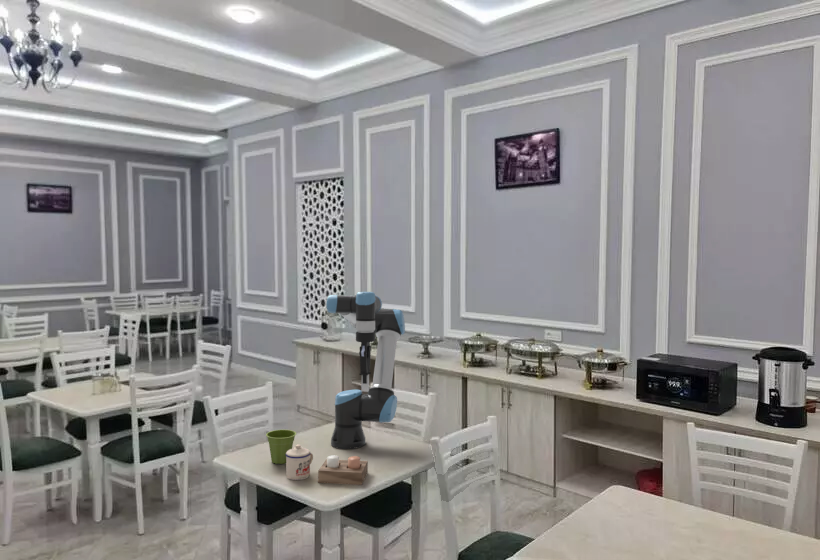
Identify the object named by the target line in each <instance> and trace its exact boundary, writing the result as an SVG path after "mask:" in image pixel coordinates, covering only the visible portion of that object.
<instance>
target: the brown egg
mask: <svg viewBox="0 0 820 560" xmlns="http://www.w3.org/2000/svg"><path fill="white" fill-rule="evenodd" d="M347 460H348V468H350V469H360V461H361V457H360V456H357V455H356V456H355V455H352V456H349V457H348V458H347Z"/></svg>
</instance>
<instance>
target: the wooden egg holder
mask: <svg viewBox="0 0 820 560" xmlns="http://www.w3.org/2000/svg"><path fill="white" fill-rule="evenodd" d="M368 467H369V463H368V460H360V469H350V468H348V459H339V467H338V468H328V467H327V458H326V459H325V461H324V462H323V463H322V464H321V466H320V468H318V472H317V475H318V476H317V484H333V485H335V484H336V485H337V484H338V485H353V486H354V485H355V486H362V485H363V484H364V481H365V479H366V477H367V475H368V471H369V470H368V469H369V468H368Z"/></svg>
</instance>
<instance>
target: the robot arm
mask: <svg viewBox="0 0 820 560" xmlns="http://www.w3.org/2000/svg"><path fill="white" fill-rule="evenodd" d="M325 304H326V305H325V306H326V311H327V313H330V314H338V315H341V316H342V317H343V318H344V319H346V320H347V321H349V323H350V325H351V326H352V327H353V328H355V331H356V332H355V341H356V342H358V343H360V346H359V352H358V353H359V367H360V368H359V369H360V370H359V371H360V373H359V376H361V385H360V387H361V388H360V389H361V390H360V389H348V390H347V389H346V390H343V391H340V392H338V393H337V394H336V395H335V398H334V399H335V402H334V429H333V432H332V435H331V437H330V438H331V439H330V445H331V446H332V447H333V448H336V449H341V450H352V449H359V448H362V447H364V446H365V445H366V440H367V439H366V436H365V433H364V430H363V425H362V422H371V423H381V424H383V423H390V422H392V421H393V419H394V418H395V415H396V412H397V408H398V407H397V406H398V397H397V395H395V391H394V390H393V389H392V386H393V379H394V378H393V376H394V369H395V368H394V367H395V358H396V353H397V352H396V350H397V342H398V341H399V340H400V339H401V336H402V335H404V334H405V333H406V325H405V323H406V322H405V317H404V315H405V314H404V312H403V310H401V309H397V308H396V309H395V308H392V309H389V308H387V309H386V308H382V307H383V301H382V299H381V298H380V297H379V296H378V295H376V293H375V292H374V291H358V292H357V293H356V295H354V294H353V295H351V294H349V295H347V294H329V296H327V298H326V303H325ZM376 338H377V339H378V340H377V347H376V355H375V362H374V363H375V364H374V369H373V378H372V385H371V386H370V375H371V373H372V372H371V355H372V354H371V353H372V352H371V351H372V345H371V343H373V342H375V341H376ZM363 392H365V393H363Z"/></svg>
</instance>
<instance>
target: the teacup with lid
mask: <svg viewBox="0 0 820 560" xmlns="http://www.w3.org/2000/svg"><path fill="white" fill-rule="evenodd" d="M313 460H314V455H313V453H311V451H310V449H308V448H305V447H303V446H302V445H301V444H296V445H295V446H294V447H292V449H290V450H288V451H287V452H286V463H285V464H286V465H285V466H286V468H285V469H286V471H285V472H286V475H285V476H286V478H287V479H289V480H294V481H299V480H305V479H308V477H309V476H310V474H311V473H310V472H311V467H310V466H311V464H312V462H313Z"/></svg>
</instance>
